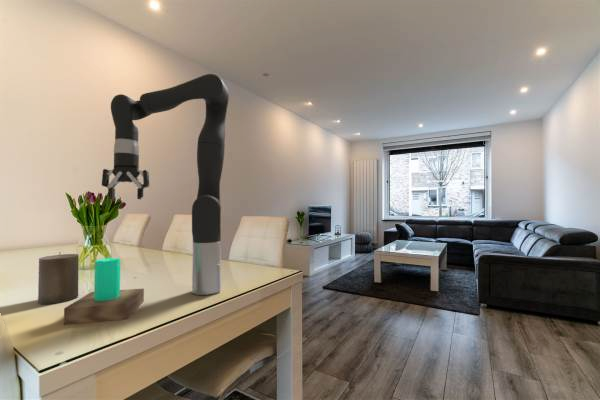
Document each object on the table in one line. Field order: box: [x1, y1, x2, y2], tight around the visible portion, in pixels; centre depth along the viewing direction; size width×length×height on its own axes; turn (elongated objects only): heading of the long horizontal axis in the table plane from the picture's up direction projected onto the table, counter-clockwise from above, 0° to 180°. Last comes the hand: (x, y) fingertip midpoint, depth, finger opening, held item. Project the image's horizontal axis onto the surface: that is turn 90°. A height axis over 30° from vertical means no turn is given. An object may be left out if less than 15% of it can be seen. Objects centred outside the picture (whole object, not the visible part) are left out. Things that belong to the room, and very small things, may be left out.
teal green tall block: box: [93, 257, 121, 301], centre depth 77 cm, size 6×6×12 cm
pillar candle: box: [37, 252, 80, 305], centre depth 88 cm, size 10×10×15 cm
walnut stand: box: [63, 288, 145, 325], centre depth 77 cm, size 14×14×4 cm
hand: (125, 199), depth 98 cm, fingers open, 8 cm apart
